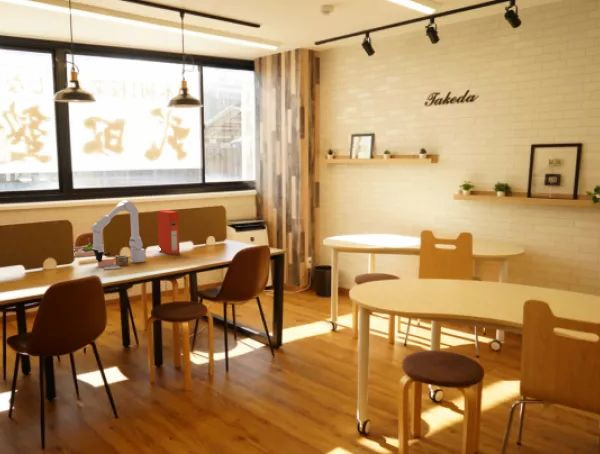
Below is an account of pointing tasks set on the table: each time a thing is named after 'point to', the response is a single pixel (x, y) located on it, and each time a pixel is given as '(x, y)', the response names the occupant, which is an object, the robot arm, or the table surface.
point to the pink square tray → (83, 252)
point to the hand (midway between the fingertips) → (98, 260)
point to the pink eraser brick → (106, 262)
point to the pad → (111, 267)
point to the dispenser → (122, 260)
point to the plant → (87, 248)
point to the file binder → (168, 231)
